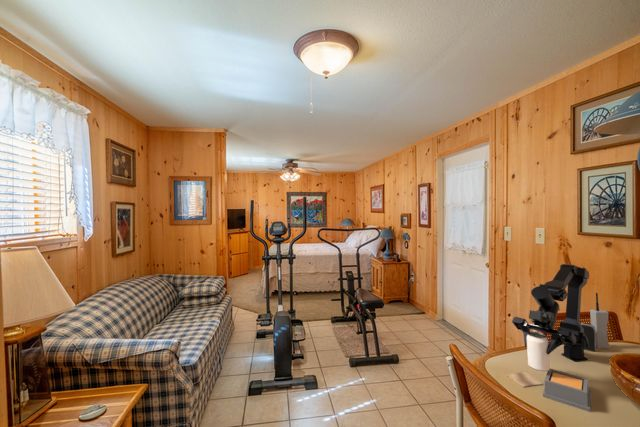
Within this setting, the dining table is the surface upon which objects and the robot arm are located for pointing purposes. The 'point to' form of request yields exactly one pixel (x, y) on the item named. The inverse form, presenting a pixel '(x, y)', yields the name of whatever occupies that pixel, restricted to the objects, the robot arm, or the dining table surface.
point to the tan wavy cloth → (524, 379)
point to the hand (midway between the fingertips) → (536, 350)
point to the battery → (589, 336)
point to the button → (567, 381)
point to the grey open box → (568, 391)
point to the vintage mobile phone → (600, 326)
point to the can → (538, 351)
